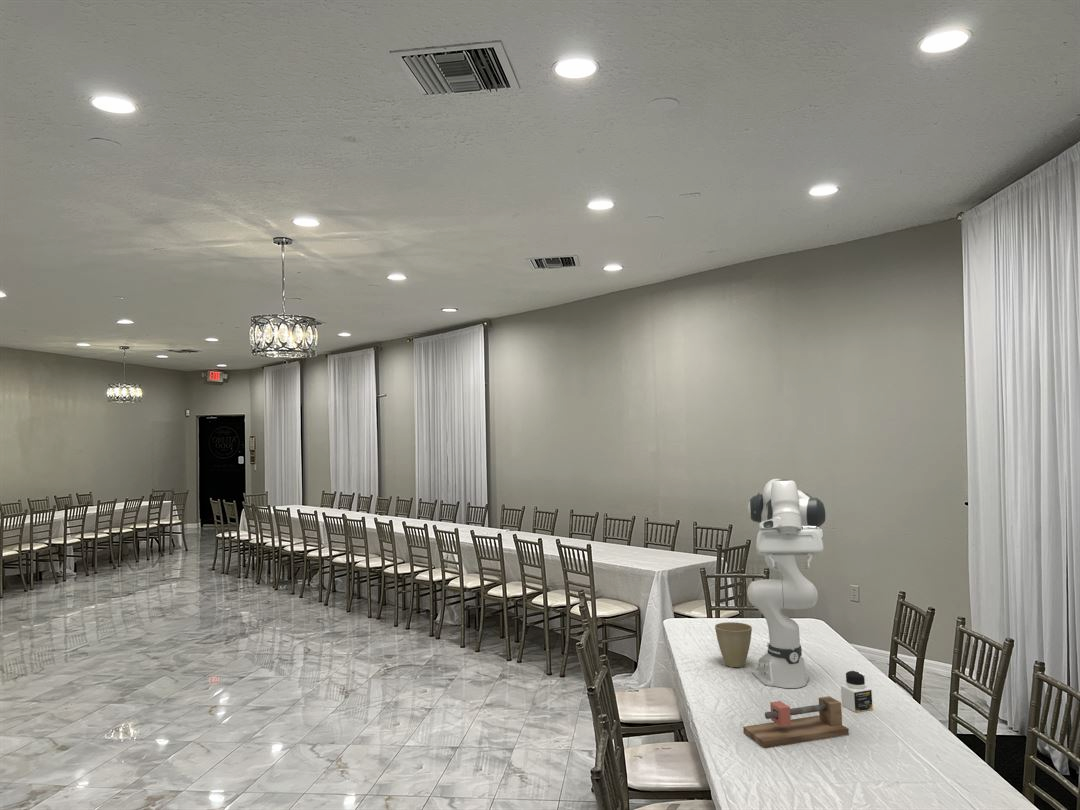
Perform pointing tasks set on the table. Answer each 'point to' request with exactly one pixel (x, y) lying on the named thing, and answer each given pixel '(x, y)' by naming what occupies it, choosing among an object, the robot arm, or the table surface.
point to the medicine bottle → (856, 692)
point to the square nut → (781, 713)
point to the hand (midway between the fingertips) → (791, 568)
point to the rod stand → (801, 725)
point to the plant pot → (734, 642)
